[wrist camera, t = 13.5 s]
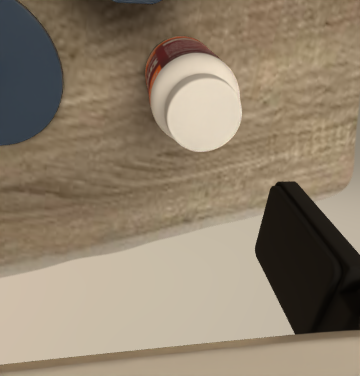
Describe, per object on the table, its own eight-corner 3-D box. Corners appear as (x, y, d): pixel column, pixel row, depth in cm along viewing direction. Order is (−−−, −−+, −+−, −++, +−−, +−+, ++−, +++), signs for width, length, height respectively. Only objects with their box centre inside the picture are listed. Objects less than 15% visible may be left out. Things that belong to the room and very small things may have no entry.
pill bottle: (136, 42, 27) (143, 74, 18) (209, 28, 27) (252, 52, 18) (152, 113, 31) (164, 171, 21) (217, 100, 31) (256, 151, 22)
